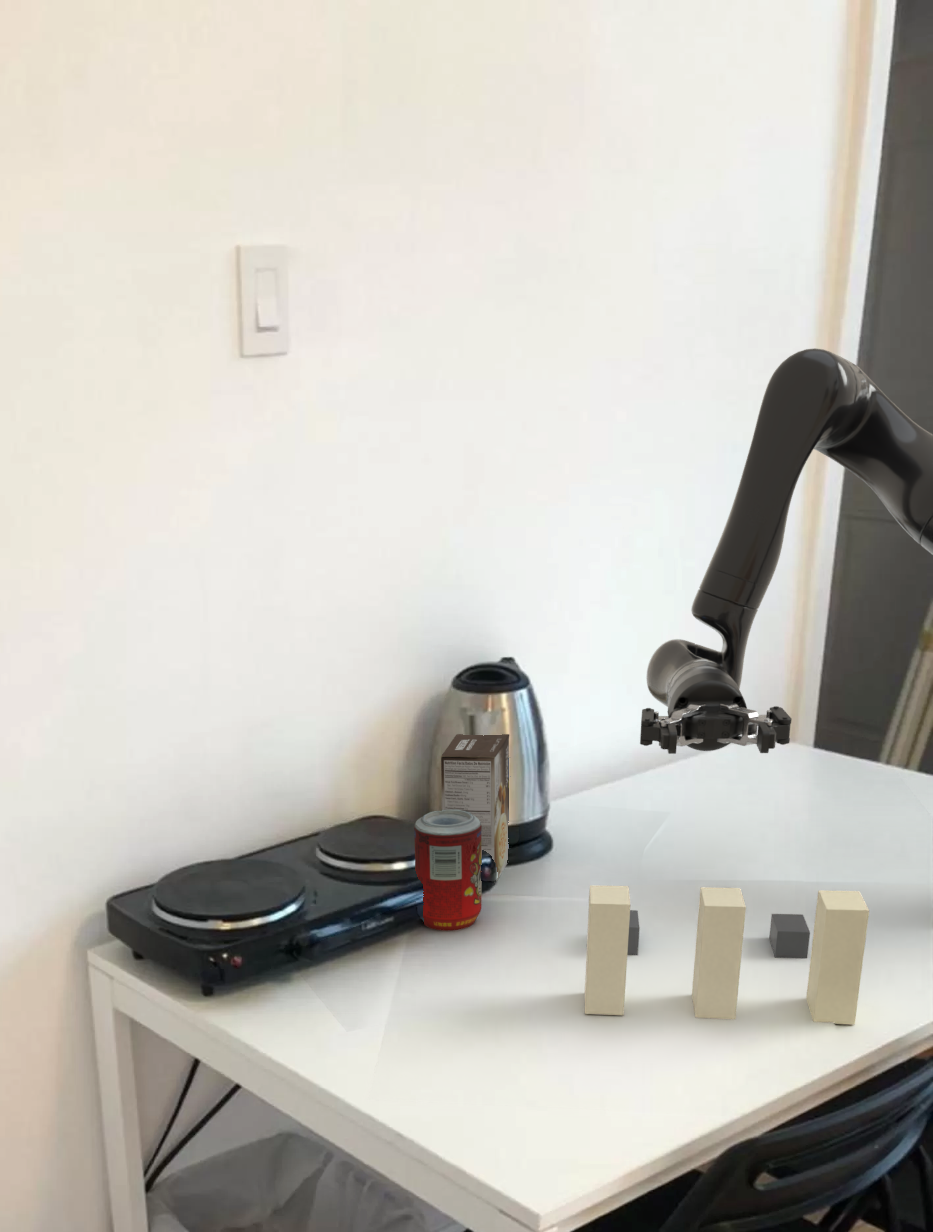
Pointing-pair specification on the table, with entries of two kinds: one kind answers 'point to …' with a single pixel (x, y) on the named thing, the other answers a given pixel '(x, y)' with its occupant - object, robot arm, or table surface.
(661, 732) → the robot arm
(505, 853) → the coffee box
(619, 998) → the cream rectangular block
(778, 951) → the charcoal foam cube
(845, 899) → the beige tall block
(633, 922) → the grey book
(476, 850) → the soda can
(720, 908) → the tall beige block
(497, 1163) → the table surface
